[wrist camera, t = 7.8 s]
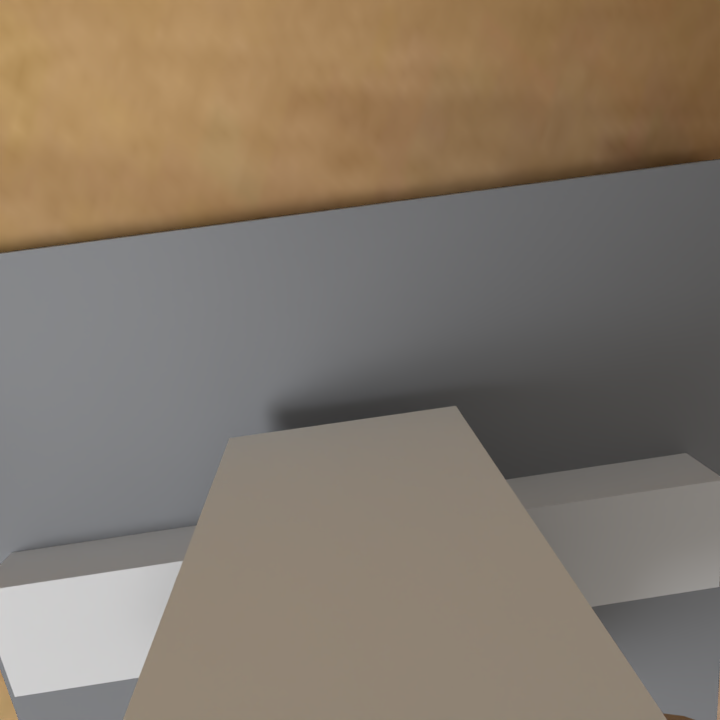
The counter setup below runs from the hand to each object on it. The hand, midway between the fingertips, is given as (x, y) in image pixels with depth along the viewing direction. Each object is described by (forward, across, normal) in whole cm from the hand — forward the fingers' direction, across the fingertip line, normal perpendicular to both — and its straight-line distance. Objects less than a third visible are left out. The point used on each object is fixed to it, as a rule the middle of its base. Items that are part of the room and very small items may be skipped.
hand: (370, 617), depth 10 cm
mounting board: (+3, 0, 0) cm, 3 cm away
